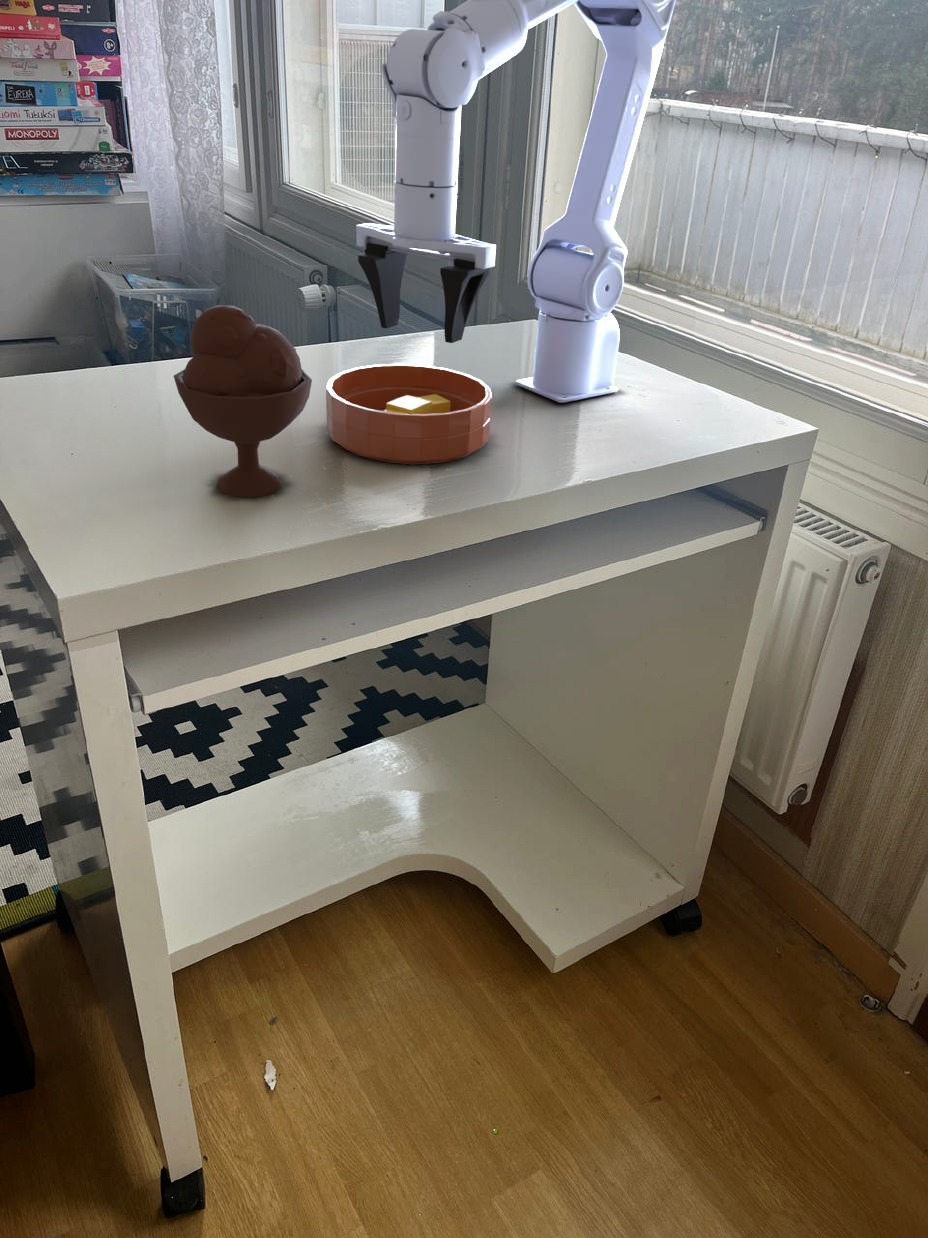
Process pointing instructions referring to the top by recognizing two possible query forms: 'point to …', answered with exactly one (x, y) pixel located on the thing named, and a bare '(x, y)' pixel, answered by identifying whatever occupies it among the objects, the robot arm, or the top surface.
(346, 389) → the bowl
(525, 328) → the top surface
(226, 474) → the ice cream bowl
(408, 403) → the yellow banana
